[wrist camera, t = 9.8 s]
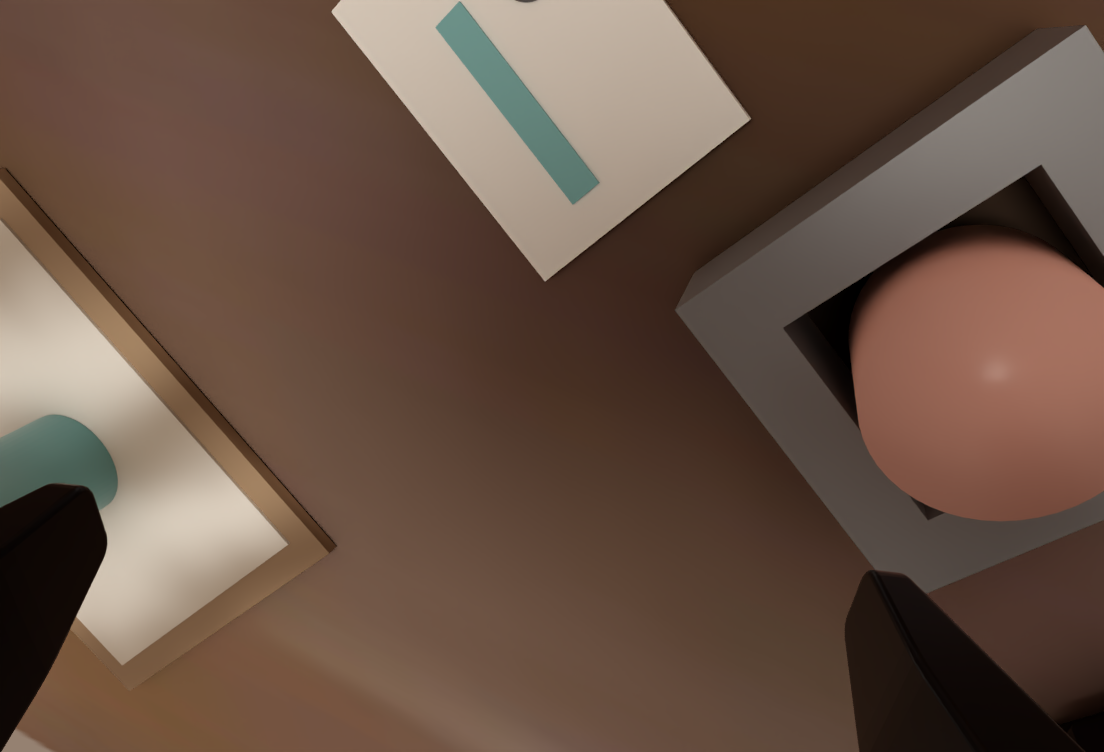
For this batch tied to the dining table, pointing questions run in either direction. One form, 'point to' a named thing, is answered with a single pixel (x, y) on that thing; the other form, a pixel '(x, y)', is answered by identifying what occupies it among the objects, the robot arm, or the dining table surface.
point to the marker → (55, 459)
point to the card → (551, 105)
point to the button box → (872, 240)
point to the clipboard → (141, 457)
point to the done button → (983, 374)
